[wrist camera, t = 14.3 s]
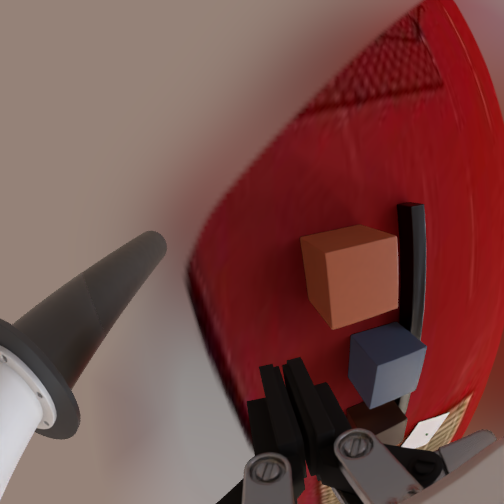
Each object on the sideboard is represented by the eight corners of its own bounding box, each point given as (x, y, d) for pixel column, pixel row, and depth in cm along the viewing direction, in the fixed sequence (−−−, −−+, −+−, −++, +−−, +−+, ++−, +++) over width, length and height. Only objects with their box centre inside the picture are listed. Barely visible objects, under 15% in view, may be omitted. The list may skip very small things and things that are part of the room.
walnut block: (347, 432, 26) (363, 461, 21) (346, 408, 24) (364, 440, 20) (384, 415, 26) (402, 442, 21) (386, 390, 25) (407, 418, 20)
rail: (385, 419, 26) (392, 429, 24) (396, 204, 20) (411, 206, 18) (395, 414, 26) (402, 424, 24) (409, 201, 20) (424, 204, 18)
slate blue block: (347, 376, 23) (369, 409, 18) (350, 334, 22) (377, 366, 17) (390, 362, 24) (415, 390, 19) (396, 321, 22) (427, 346, 18)
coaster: (394, 455, 29) (396, 458, 29) (419, 422, 28) (421, 425, 27) (426, 444, 31) (428, 446, 30) (449, 412, 29) (452, 414, 28)
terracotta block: (308, 299, 21) (332, 330, 16) (299, 237, 20) (324, 253, 15) (364, 284, 21) (398, 308, 16) (360, 224, 20) (397, 235, 15)
